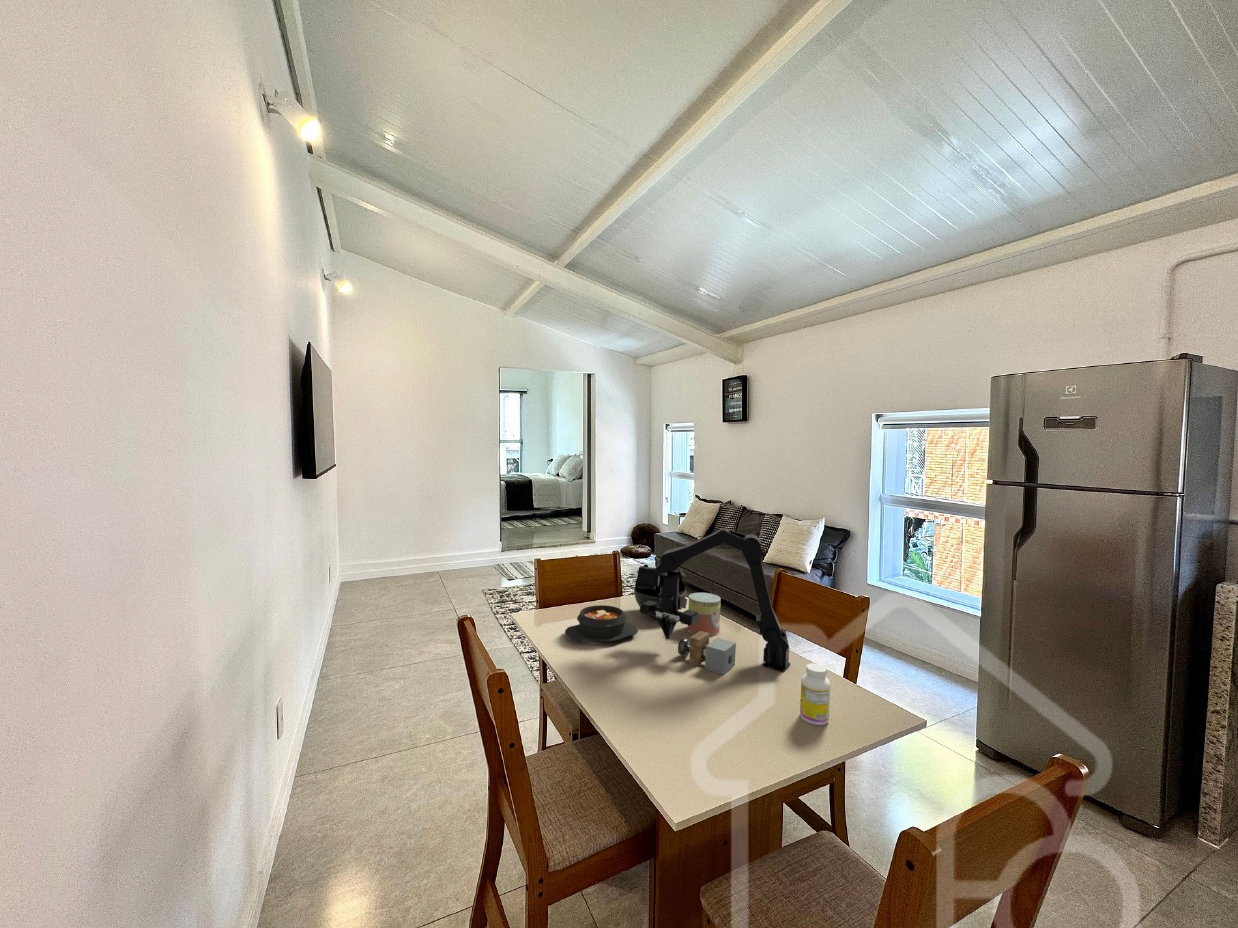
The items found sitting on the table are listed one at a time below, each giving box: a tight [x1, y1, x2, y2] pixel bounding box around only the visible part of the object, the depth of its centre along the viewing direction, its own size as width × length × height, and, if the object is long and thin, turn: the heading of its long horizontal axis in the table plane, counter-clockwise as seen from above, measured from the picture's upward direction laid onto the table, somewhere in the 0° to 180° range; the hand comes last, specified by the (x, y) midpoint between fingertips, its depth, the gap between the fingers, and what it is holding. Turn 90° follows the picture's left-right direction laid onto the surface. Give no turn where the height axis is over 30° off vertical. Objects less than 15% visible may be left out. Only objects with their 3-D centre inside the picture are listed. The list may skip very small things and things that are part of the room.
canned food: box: [687, 592, 722, 638], centre depth 180 cm, size 11×11×12 cm
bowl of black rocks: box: [633, 563, 687, 618], centre depth 194 cm, size 20×20×19 cm
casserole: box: [564, 604, 639, 643], centre depth 172 cm, size 25×19×8 cm
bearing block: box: [704, 637, 737, 676], centre depth 151 cm, size 6×8×7 cm
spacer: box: [688, 631, 710, 667], centre depth 155 cm, size 3×7×8 cm, turn 145°
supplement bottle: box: [799, 663, 831, 726], centre depth 124 cm, size 7×7×13 cm
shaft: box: [677, 637, 706, 657], centre depth 155 cm, size 13×5×5 cm, turn 55°
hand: (667, 638), depth 161 cm, fingers closed
